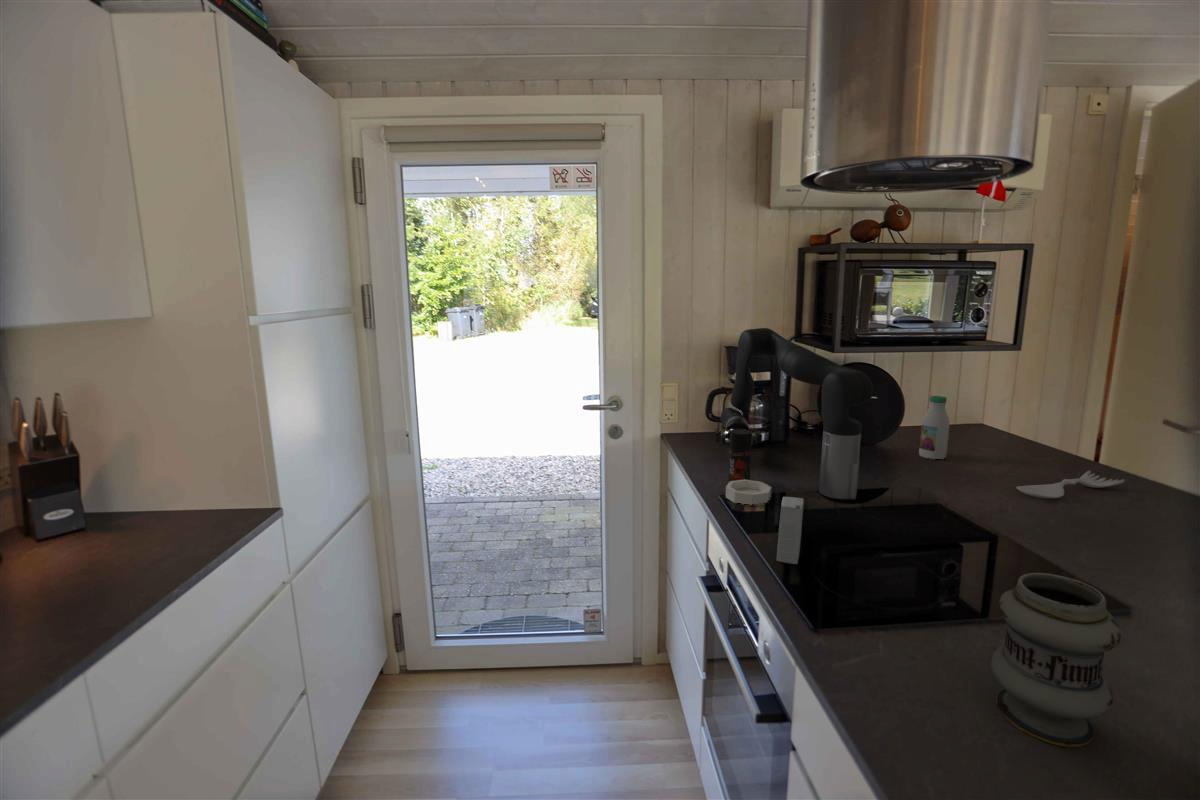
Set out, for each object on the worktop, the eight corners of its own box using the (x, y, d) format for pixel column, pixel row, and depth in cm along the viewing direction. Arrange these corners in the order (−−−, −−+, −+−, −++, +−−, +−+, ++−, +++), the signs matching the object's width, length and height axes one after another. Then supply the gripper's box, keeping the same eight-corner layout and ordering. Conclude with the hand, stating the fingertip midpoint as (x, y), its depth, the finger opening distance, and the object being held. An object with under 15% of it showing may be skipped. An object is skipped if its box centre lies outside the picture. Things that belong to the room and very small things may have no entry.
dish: (773, 494, 152) (773, 483, 152) (765, 507, 143) (765, 496, 142) (732, 488, 157) (733, 477, 157) (722, 501, 148) (722, 490, 147)
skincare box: (778, 549, 120) (781, 495, 118) (800, 552, 118) (804, 497, 116) (775, 562, 114) (778, 505, 112) (799, 565, 113) (802, 508, 110)
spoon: (1124, 490, 153) (1126, 478, 153) (1042, 505, 143) (1044, 492, 143) (1087, 480, 162) (1089, 468, 161) (1007, 494, 152) (1008, 481, 151)
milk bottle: (938, 453, 188) (945, 394, 185) (950, 460, 181) (957, 399, 177) (914, 453, 189) (920, 394, 185) (925, 460, 182) (931, 398, 178)
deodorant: (753, 482, 162) (755, 431, 159) (743, 487, 158) (745, 435, 155) (735, 477, 166) (736, 428, 163) (724, 482, 162) (726, 432, 159)
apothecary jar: (967, 682, 79) (982, 563, 75) (1059, 687, 78) (1079, 566, 74) (1022, 751, 67) (1043, 613, 64) (1132, 758, 66) (1159, 618, 62)
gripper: (715, 417, 187) (715, 429, 172) (760, 419, 184) (763, 431, 169) (714, 439, 189) (714, 452, 173) (759, 441, 186) (762, 455, 170)
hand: (738, 442), depth 171 cm, fingers open, 8 cm apart
